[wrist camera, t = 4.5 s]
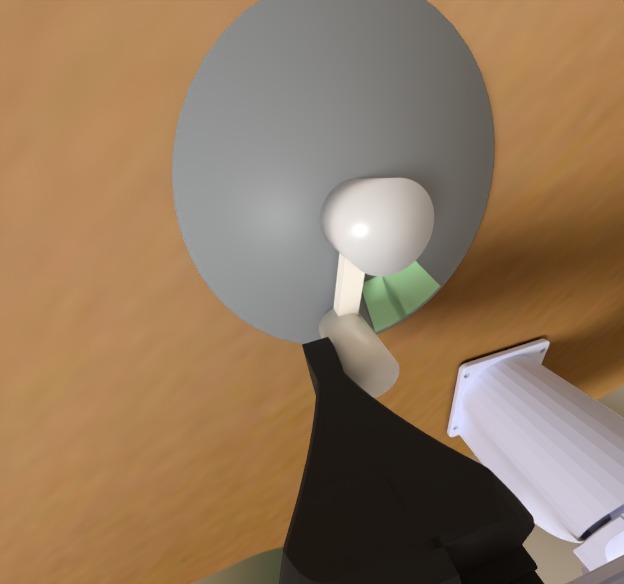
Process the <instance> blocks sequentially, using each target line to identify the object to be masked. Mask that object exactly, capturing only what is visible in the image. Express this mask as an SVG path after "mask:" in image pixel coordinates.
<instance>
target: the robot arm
mask: <svg viewBox="0 0 624 584" xmlns="http://www.w3.org/2000/svg"><path fill="white" fill-rule="evenodd" d="M549 344H550V342H549V341H548V340H546V339H539V340H536V341H533V342H530V343H527V344H524V345H520V346H517V347H514V348H511V349H508V350H505V351H502V352H498V353H495V354H492V355H489V356H486V357H483V358H480V359H477V360H473V361H470V362H467V363H464V364H462V365H461V366H460V368H459V372H458V377H457V382H456V388H455V393H454V398H453V403H452V409H451V414H450V419H449V424H448V430H447V433H448V435H449V436H450V437H454V436H457V435H460V436H461V437H462V439H463V440H464V441H465V442H466V444H467V445H468V446H469V447H470V449H471V450H472V451H473V453H474V454H475V455H476V456H477V457H478V459H479V460H480V461H481V462H482V464H483V465H481V464H480V463H478V462H476V461H474V460H472V459H470V458H468V457H466V456H464V455H463V454H461V453H459V452H457V451H455V450H454V449H452V448H450V447H448V446H446V445H445V444H443V443H441V442H439V441H438V440H436V439H434V438H433V437H431V436H429V435H427V434H426V433H424V432H422V431H421V430H419V429H418V428H416V427H415V426H413V425H412V424H410V423H409V422H407V421H405V420H404V419H402V418H401V417H399V416H398V415H396V414H395V413H393V412H392V411H391V410H389V409H388V408H386V407H385V406H384V405H382V404H381V403H380V402H378V401H377V400H376V399H374V398H373V397H372V396H371V395H369V394H368V393H367V392H366V391H364V390H363V389H362V388H361V387H360V386H359V385H358V384H356V383H355V382H354V381H353V380H352V379H351V378H350V377H349V376H348V375H347V374H346V373H345V372H344V370H343V367H342V365H341V362H340V360H339V357H338V354H337V352H336V349H335V347H334V345H333V343H332V342H331V340H330V339H329V337H325V338H322V339H319V340H315V341H312V342H309V343H305V344H302V346H303V350H304V353H305V357H306V361H307V365H308V369H309V372H310V376H311V380H312V383H313V387H314V390H315V394H316V404H315V413H314V420H313V427H312V433H311V439H310V445H309V450H308V455H307V460H306V464H305V468H304V473H303V477H302V481H301V485H300V490H299V494H298V498H297V501H296V505H295V508H294V512H293V515H292V519H291V522H290V526H289V529H288V533H287V536H286V540H285V544H284V548H283V556H282V564H281V571H280V580H279V584H544V583H543V581H542V580H541V579H540V577H539V576H538V575H537V573H536V572H535V570H536V569H537V565H536V563H535V562H534V560H533V559H532V558H531V556H530V555H529V554H528V552H527V551H526V550H525V548H524V547H523V545H522V544H523V542H524V541H525V540H526V538H527V537H528V536H529V534H530V533H531V532H532V530H533V528H534V526H535V525H534V523H535V524H537V525H538V526H539V527H541V528H542V529H544V530H546V531H547V532H549V533H550V534H552V535H554V536H556V537H558V538H561V539H564V540H567V541H571V542H576V543H581V544H579V545H578V546H576V547H575V548H573V549H572V550H573V552H574V553H575V554H576V555H577V557H578V558H579V559H580V560H581V561H582V562H583V565H582V572H583V576H581V577H579V578H577V579H575V580H573V581H571V582H569V583H567V584H624V418H623V417H622V416H620V415H618V414H617V413H615V412H614V411H612V410H611V409H609V408H608V407H606V406H604V405H603V404H601V403H600V402H598V401H597V400H595V399H594V398H592V397H591V396H589V395H588V394H586V393H584V392H583V391H581V390H580V389H578V388H577V387H575V386H574V385H572V384H571V383H569V382H567V381H566V380H564V379H563V378H561V377H560V376H558V375H557V374H555V373H554V372H552V371H550V370H549V369H547V368H546V367H544V366H543V365H541V363H542V361H543V359H544V356H545V354H546V352H547V349H548V347H549Z"/></svg>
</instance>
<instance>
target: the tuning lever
mask: <svg viewBox="0 0 624 584" xmlns="http://www.w3.org/2000/svg"><path fill="white" fill-rule="evenodd" d="M320 223H321V229H322V232H323V235H324V237H325V238H326V240H327V241H328V243H330V244H331V245H332V246H333V247H334V248H335V249H336V250H337V251H338V252H339V262H338V271H337V280H336V289H335V298H334V308H333V309H331V310H329V311H328V312H327V313H326V314H325V315H324V316H323V317H322V319H321V321H320V323H319V334H320V336H321V339H322V338H325V337H329V339H330V340H331V342H332V343H333V345H334V347H335V349H336V352H337V354H338V357H339V360H340V362H341V365H342V367H343V370H344V372H345V373H346V374H347V375H348V376H349V377H350V378H351V379H352V380H353V381H354V382H355V383H356V384H358V385H359V386H360V387H361V388H362V389H363V390H364V391H366V392H367V393H368V394H369V395H371V396H372V397H373V398H376V397H378V396H380V395H382V394H384V393H385V392H387V391H388V390H389V389H390V388H391V387H392V386H393V385H394V383H395V382H396V380H397V378H398V376H399V371H400V369H399V364H398V362H397V361H396V360H395V358H394V357H393V356H392V354H391V353H390V352H389V351H388V349H387V348H386V347H385V345H384V344H383V343H382V341H381V340H380V339H379V338H378V336H377V335H376V334H375V332H374V331H373V330H372V329H371V327H370V326H369V325H368V323H367V322H366V321H365V320H364V318H363V317H362V316H361V314H360V313H359V306H360V300H361V294H362V288H363V282H364V276H365V273H366V274H369V275H372V276H389V275H393V274H396V273H398V272H400V271H402V270H404V269H406V268H407V267H409V266H410V265H411V264H412V263H413V262H414V261H416V260H417V258H418V257H419V256H420V255H421V254H422V252H423V251H424V249H425V248H426V246H427V244H428V242H429V240H430V237H431V234H432V231H433V226H434V208H433V204H432V201H431V199H430V196H429V195H428V193H427V191H426V190H425V189H424V188H423V187H422V186H421V185H419V184H418V183H416V182H415V181H413V180H410V179H406V178H363V179H350V180H347V181H344V182H342V183H340V184H339V185H337V186H336V187H335V188H334V189H333V190H332V191H331V192H330V193H329V195H328V196H327V198H326V199H325V201H324V204H323V206H322V210H321V216H320Z"/></svg>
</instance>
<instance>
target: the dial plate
mask: <svg viewBox="0 0 624 584" xmlns="http://www.w3.org/2000/svg"><path fill="white" fill-rule="evenodd" d="M494 145H495V140H494V127H493V117H492V112H491V107H490V102H489V96H488V93H487V90H486V87H485V84H484V81H483V78H482V75H481V71H480V69H479V67H478V65H477V63H476V61H475V59H474V57H473V55H472V53H471V51H470V49H469V47H468V46H467V44H466V43H465V41H464V40H463V39H462V37H461V36H460V34H459V33H458V31H457V30H456V28H455V27H454V26H453V25H452V24H451V23H450V22H449V21H448V20H447V19H446V18H445V17H444V16H443V15H442V14H441V12H440V11H439V10H438V9H437V8H436V7H434V6H433V5H432V4H430V3H429V2H427V1H426V0H260V1H258V2H257V3H255V4H254V5H253V6H251V7H250V8H248V9H247V10H245V11H244V12H243V13H242V14H241V15H240V16H239V17H238V18H237V19H236V20H235V21H234V22H233V23H232V24H231V25H230V26H229V27H228V28H227V29H226V30H225V31H224V32H223V33H222V34H221V36H220V37H219V38H218V40H217V41H216V43H215V44H214V45H213V47H212V48H211V49H210V51H209V52H208V54H207V55H206V56H205V58H204V59H203V61H202V63H201V65H200V67H199V69H198V71H197V73H196V75H195V77H194V79H193V81H192V83H191V85H190V87H189V89H188V92H187V95H186V98H185V101H184V104H183V107H182V110H181V113H180V116H179V119H178V124H177V130H176V135H175V141H174V146H173V164H172V184H173V195H174V205H175V210H176V214H177V218H178V223H179V227H180V231H181V234H182V237H183V239H184V242H185V245H186V247H187V250H188V253H189V255H190V257H191V259H192V260H193V262H194V264H195V266H196V268H197V270H198V272H199V274H200V275H201V277H202V278H203V279H204V281H205V282H206V284H207V285H208V286H209V288H210V289H211V291H212V292H213V293H214V294H215V295H216V296H217V297H218V298H219V299H220V301H221V302H222V303H223V304H224V305H225V306H226V307H227V308H229V309H230V310H231V311H232V312H233V313H235V314H236V315H237V316H238V317H239V318H241V319H242V320H244V321H245V322H247V323H248V324H250V325H251V326H253V327H255V328H257V329H259V330H261V331H263V332H265V333H267V334H269V335H272V336H275V337H277V338H280V339H283V340H287V341H291V342H296V343H301V344H305V343H309V342H312V341H315V340H319V339H321V336H320V334H319V323H320V321H321V319H322V317H323V316H324V315H325V314H326V313H327V312H328V311H329V310H331V309H333V308H334V298H335V289H336V280H337V271H338V262H339V252H338V251H337V250H336V249H335V248H334V247H333V246H332V245H331V244H330V243H328V241H327V240H326V238H325V237H324V235H323V232H322V229H321V223H320V216H321V210H322V206H323V204H324V201H325V199H326V198H327V196H328V195H329V193H330V192H331V191H332V190H333V189H334V188H335V187H336V186H337V185H339V184H340V183H342V182H344V181H347V180H350V179H363V178H406V179H410V180H413V181H415V182H416V183H418V184H419V185H421V186H422V187H423V188H424V189H425V190H426V191H427V193H428V195H429V196H430V199H431V201H432V204H433V208H434V226H433V231H432V234H431V237H430V240H429V242H428V244H427V246H426V248H425V249H424V251H423V252H422V254H421V255H420V256H419V257H418V258H417V260H416V261H414V262H413V263H412V264H411V265H410V266H409V267H407V268H406V269H404V270H402V271H400V272H398V273H396V274H393V275H389V276H372V275H369V274H366V273H365V276H364V282H363V288H362V294H361V300H360V306H359V313H360V314H361V316H362V317H363V318H364V320H365V321H366V322H367V323H368V325H369V326H370V327H371V329H372V330H373V331H374V332H375V334H379V333H381V332H383V331H385V330H387V329H390V328H392V327H393V326H395V325H397V324H398V323H400V322H402V321H404V320H405V319H407V318H408V317H409V316H411V315H412V314H414V313H415V312H416V311H418V310H419V309H420V308H421V307H422V306H424V305H425V304H426V303H427V302H428V301H429V300H430V299H431V298H432V297H433V296H434V295H435V294H436V293H437V292H438V291H439V290H440V289H441V288H442V287H443V286H444V285H445V283H446V282H447V281H448V280H449V278H450V277H451V276H452V275H453V273H454V272H455V270H456V269H457V267H458V266H459V264H460V263H461V261H462V260H463V258H464V256H465V255H466V253H467V251H468V249H469V247H470V246H471V244H472V242H473V239H474V237H475V235H476V233H477V230H478V228H479V226H480V223H481V220H482V217H483V214H484V211H485V208H486V205H487V201H488V196H489V192H490V188H491V182H492V175H493V167H494Z"/></svg>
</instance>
